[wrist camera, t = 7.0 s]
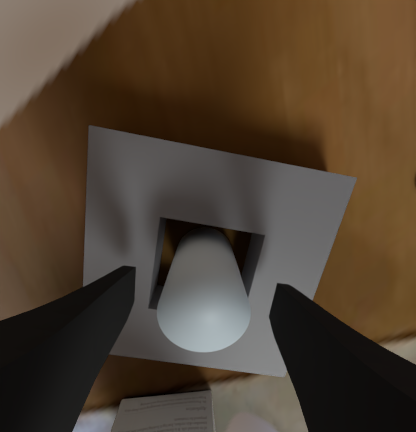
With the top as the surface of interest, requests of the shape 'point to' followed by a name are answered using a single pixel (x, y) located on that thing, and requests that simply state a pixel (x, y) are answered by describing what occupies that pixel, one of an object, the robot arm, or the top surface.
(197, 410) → the skincare box
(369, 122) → the top surface
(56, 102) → the top surface
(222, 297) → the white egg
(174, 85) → the top surface
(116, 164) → the dock
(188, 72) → the top surface
